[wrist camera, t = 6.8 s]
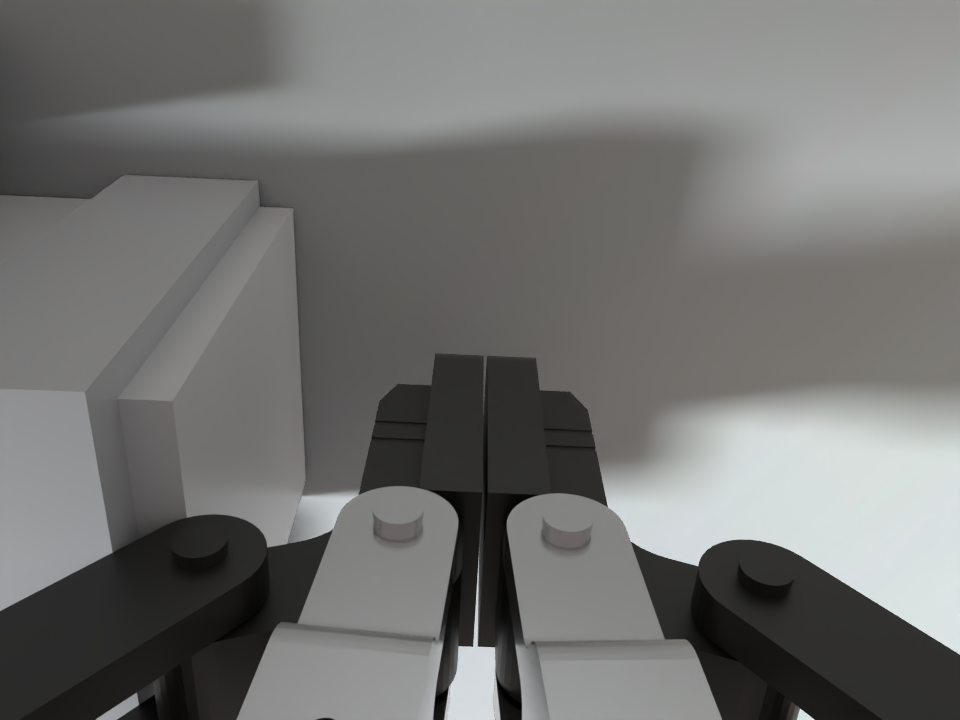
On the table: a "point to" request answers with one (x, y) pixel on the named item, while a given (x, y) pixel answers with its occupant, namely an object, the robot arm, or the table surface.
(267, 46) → the table surface
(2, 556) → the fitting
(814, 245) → the table surface
